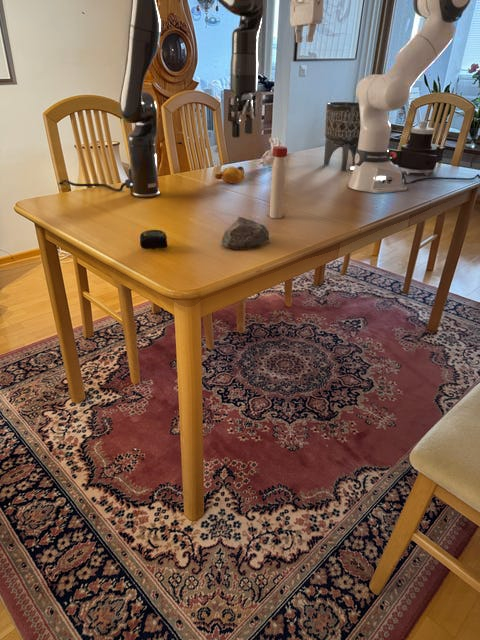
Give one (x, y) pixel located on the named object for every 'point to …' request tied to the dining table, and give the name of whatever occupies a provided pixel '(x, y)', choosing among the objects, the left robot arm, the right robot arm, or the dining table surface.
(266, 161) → the figurine
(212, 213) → the dining table surface
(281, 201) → the bottle
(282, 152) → the cap
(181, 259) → the dining table surface
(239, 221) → the rock
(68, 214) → the dining table surface
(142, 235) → the tape measure
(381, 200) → the dining table surface
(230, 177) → the toy
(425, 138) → the mechanical component
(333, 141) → the planter
